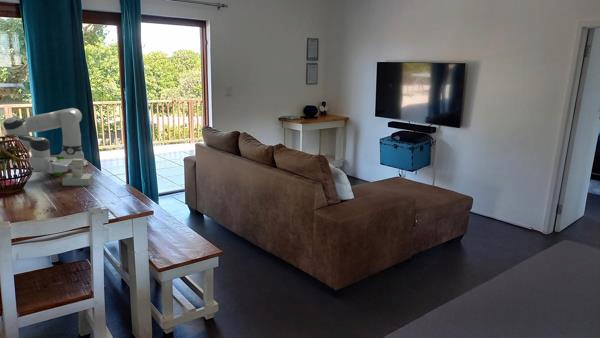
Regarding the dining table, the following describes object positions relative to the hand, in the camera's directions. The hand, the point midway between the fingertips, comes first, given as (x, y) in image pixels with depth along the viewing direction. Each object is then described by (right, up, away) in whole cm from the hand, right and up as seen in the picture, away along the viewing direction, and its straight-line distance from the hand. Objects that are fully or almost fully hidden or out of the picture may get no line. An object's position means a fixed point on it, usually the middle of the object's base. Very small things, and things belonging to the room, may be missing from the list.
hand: (79, 165), depth 256 cm
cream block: (-1, -6, +1) cm, 7 cm away
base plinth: (-2, -10, +2) cm, 11 cm away
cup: (-22, -6, +16) cm, 27 cm away
